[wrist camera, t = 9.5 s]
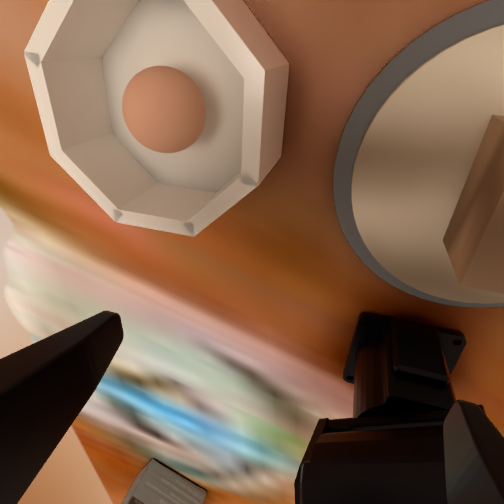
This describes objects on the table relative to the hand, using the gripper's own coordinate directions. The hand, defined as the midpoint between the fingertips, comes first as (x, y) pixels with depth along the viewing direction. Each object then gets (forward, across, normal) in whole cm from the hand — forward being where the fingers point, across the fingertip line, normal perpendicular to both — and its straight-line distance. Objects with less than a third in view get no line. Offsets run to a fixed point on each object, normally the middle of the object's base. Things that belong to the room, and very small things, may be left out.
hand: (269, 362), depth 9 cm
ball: (+10, +8, -4) cm, 14 cm away
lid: (+12, -8, -2) cm, 15 cm away
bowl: (+13, +8, -4) cm, 16 cm away
